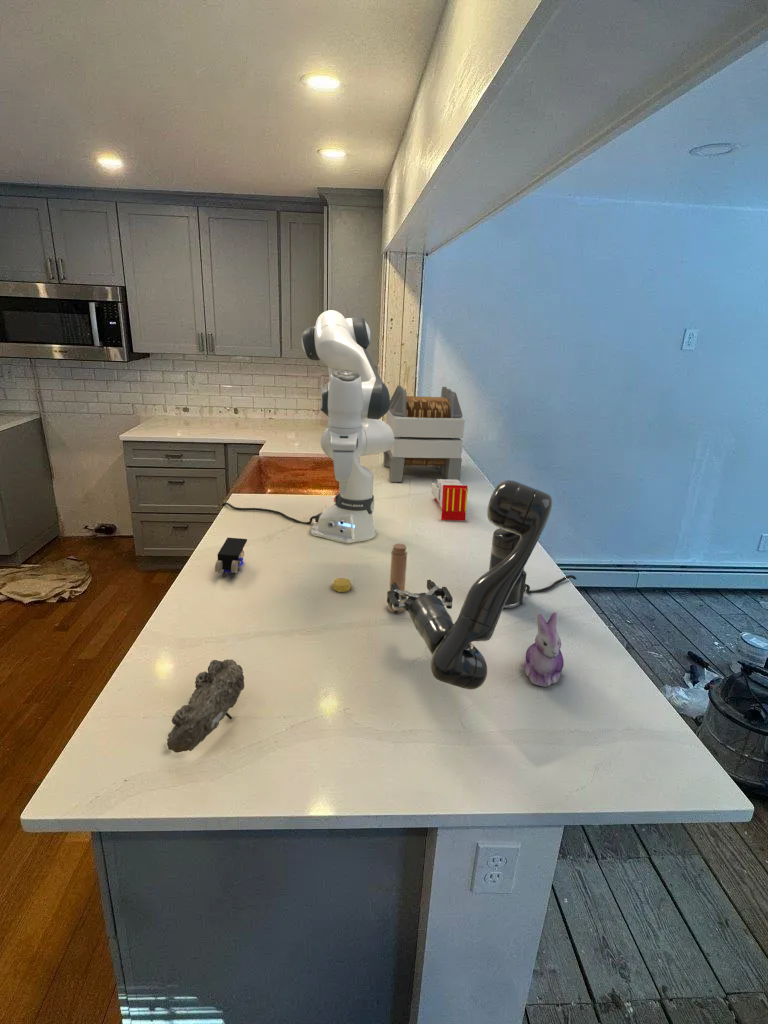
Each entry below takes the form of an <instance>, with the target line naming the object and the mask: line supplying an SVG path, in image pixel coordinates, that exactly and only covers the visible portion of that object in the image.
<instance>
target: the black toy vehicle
mask: <svg viewBox="0 0 768 1024" xmlns="http://www.w3.org/2000/svg"><path fill="white" fill-rule="evenodd" d="M247 542H248V538H240V537H226V539H225V541H224V543H223V544H222V546H221V547H220V549H219V551H218V552H217V560H216V562H215V564H214V572H215V573H221V577H222V578H224V577H225V576H226V574H227V573H230V574H231V573H232V574H231V578H234V577H235V575H236V573H237V572H239V571H240V567H242V566H243V565H244V564H245V562H244V558H245V551H244V547H245V546H246V544H247Z"/></svg>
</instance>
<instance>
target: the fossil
mask: <svg viewBox="0 0 768 1024" xmlns="http://www.w3.org/2000/svg"><path fill="white" fill-rule="evenodd" d="M243 670H244V669H243V667H242V665H240V664H237V662H236V661H235V660H234V659H232V658H231V659H227V658H226V659H224V660H223V661H222V660H217V659H212V660H211V661H210V663H209V665H208V666H207V671H201V672H199V673H198V674H197V675H196V676H195V680H194V684H195V685H194V687H195V689H194V690H193V693H192V694H191V697H190V698H189V700H188V704H184V705H182V706H181V707H180V709H177V710H176V711H175V713H174V715H173V716H172V718H171V723H172V724H173V727H172V730H171V731H170V732H168V734H167V738H166V741H167V742H166V745H167V749H168V750H169V751H173V752H174V753H176V754H178V753H182V752H188V751H189V752H192V751H193V750H195V748H196V747H197V746H199V744H200V743H201V742H203V741H204V740H205V739H206V738H207V737H208V736H209V735H210V734H211V733H212V732H214V730H215V729H217V727H218V726H219V724H220V722H221V721H222V720H223V719H224V718H225V716H226V717H227V719H229V720H233V717H232V715H230V714H229V710H230V709H231V708H234V706H235V704H236V703H237V702H238V699H239V697H240V695H241V693H242V691H243V690H245V689H244V688H245V675H244V671H243Z"/></svg>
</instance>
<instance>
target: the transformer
mask: <svg viewBox="0 0 768 1024" xmlns="http://www.w3.org/2000/svg"><path fill="white" fill-rule="evenodd" d="M440 393H441V394H440V396H415V395H414V396H413V395H412V396H411V395H407V394H408V393H407V390H406V389H404V388H403V387H402V385H399V384H398V385H397V386H396V388H395V390H394V392H393V394H392V395H391V397H390V407H389V410H388V412H387V413H386V414H385V423H387V424H388V425H389V426H390V427H391V429H392V431H393V434H394V442H393V445H392V447H391V449H390V450H388V451H386V452H383V466H384V467H388V468H389V475H388V476H389V477H388V478H389V480H390V482H391V483H402V482H403V475H404V469H405V466H406V467H407V466H411V467H412V466H413V467H415V466H416V467H417V466H418V467H436V468H437V470H438V469H439V473H440V474H441V475H443V479H451V480H459V481H460V482H461V472H462V461H463V460H462V453H463V442H464V441H463V440H462V439H463V438H464V431H465V430H464V429H465V419H464V418H463V411H462V408H461V405H460V402H459V398H458V395H457V392H455V391H453V390H452V389H451V388H447V386H442V387H441V392H440Z"/></svg>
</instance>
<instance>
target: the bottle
mask: <svg viewBox="0 0 768 1024" xmlns="http://www.w3.org/2000/svg"><path fill="white" fill-rule="evenodd" d="M390 552H391V553H390V572H389V590H388V591H391V585H392V584H393V582H396V583H397V585H398V587H399V590H401V591H403V592H404V591H406V581H407V580H406V578H407V563H408V552H407V546H406V545H405V544H404V543H395V544H393V546H392V550H391V551H390ZM399 598H401V595H399ZM387 609H388V611H389V612H391V613H393V611H392V610H391V608H390V606H389V605H388V607H387ZM404 610H405V609H403V610H399V613H398V614H401V613H402V612H404Z"/></svg>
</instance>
